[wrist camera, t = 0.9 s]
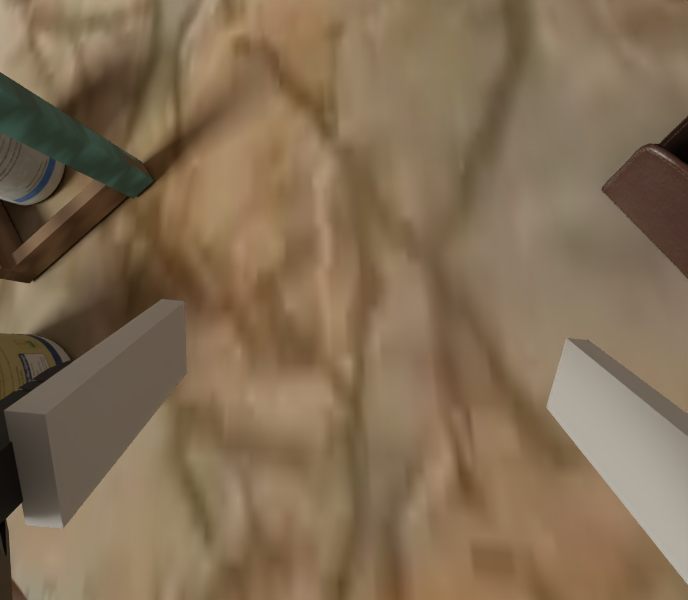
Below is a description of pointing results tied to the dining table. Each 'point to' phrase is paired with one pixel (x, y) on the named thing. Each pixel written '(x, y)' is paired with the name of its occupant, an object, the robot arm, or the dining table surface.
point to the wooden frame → (76, 152)
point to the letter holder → (657, 193)
